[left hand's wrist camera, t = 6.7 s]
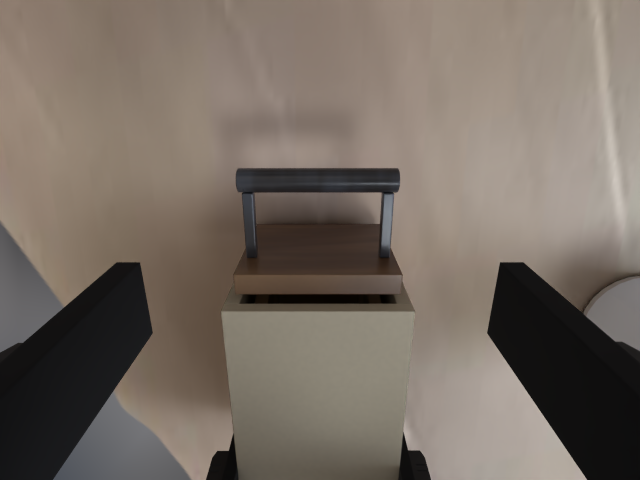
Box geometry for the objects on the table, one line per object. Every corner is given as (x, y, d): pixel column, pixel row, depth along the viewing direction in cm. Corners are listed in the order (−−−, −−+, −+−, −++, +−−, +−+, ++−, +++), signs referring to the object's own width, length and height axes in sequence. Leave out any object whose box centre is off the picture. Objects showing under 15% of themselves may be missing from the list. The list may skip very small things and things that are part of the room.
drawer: (252, 152, 27) (224, 178, 19) (384, 152, 27) (410, 178, 19) (267, 398, 34) (252, 488, 26) (370, 398, 34) (384, 489, 26)
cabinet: (252, 241, 30) (220, 311, 20) (385, 240, 30) (415, 311, 20) (263, 414, 36) (243, 530, 27) (374, 414, 36) (393, 530, 27)
